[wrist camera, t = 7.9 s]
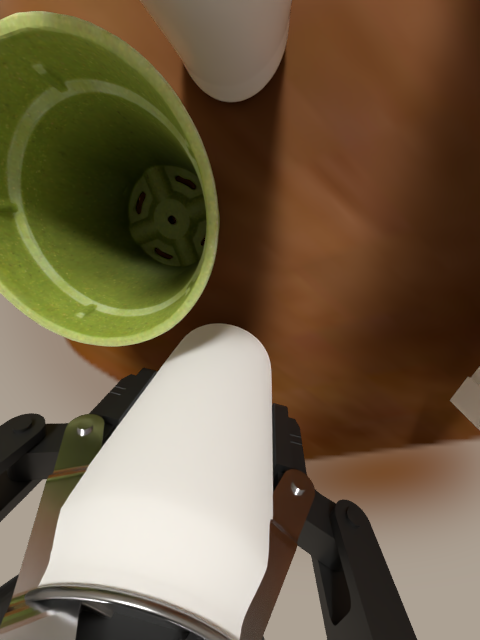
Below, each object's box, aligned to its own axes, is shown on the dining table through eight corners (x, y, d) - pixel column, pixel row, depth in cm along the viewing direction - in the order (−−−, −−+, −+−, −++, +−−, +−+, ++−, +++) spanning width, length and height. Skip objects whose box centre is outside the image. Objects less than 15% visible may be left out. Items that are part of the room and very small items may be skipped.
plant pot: (94, 257, 17) (-56, 288, 9) (120, 100, 14) (-92, -70, 6) (214, 309, 18) (169, 382, 10) (270, 172, 14) (271, 109, 6)
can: (227, 416, 18) (161, 723, 7) (159, 362, 17) (-50, 629, 6) (291, 366, 16) (344, 702, 5) (218, 299, 15) (62, 540, 4)
